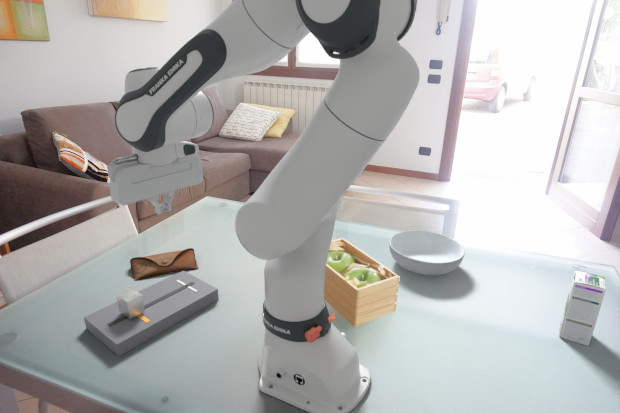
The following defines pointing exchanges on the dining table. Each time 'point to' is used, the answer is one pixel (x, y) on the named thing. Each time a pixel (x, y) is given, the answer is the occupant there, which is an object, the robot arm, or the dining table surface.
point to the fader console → (151, 312)
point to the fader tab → (130, 303)
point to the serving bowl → (426, 252)
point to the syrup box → (582, 307)
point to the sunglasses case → (163, 264)
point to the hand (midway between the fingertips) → (163, 212)
